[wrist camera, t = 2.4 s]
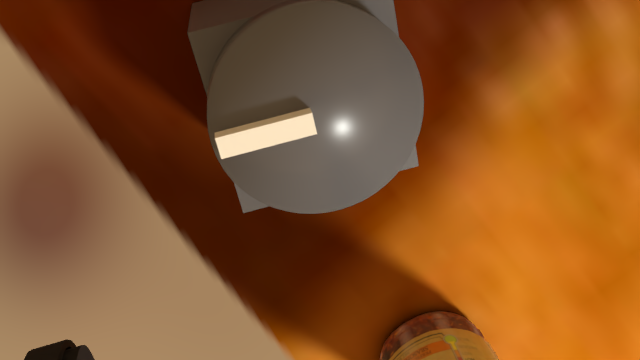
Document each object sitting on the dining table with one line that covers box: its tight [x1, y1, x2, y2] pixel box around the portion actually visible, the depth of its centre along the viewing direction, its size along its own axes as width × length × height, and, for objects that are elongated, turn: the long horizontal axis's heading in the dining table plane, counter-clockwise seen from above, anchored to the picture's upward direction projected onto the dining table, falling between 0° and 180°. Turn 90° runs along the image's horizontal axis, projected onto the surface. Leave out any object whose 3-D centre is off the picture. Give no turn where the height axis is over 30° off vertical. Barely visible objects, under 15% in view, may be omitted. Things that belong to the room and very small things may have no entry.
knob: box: [187, 0, 424, 214], centre depth 22 cm, size 7×7×8 cm
